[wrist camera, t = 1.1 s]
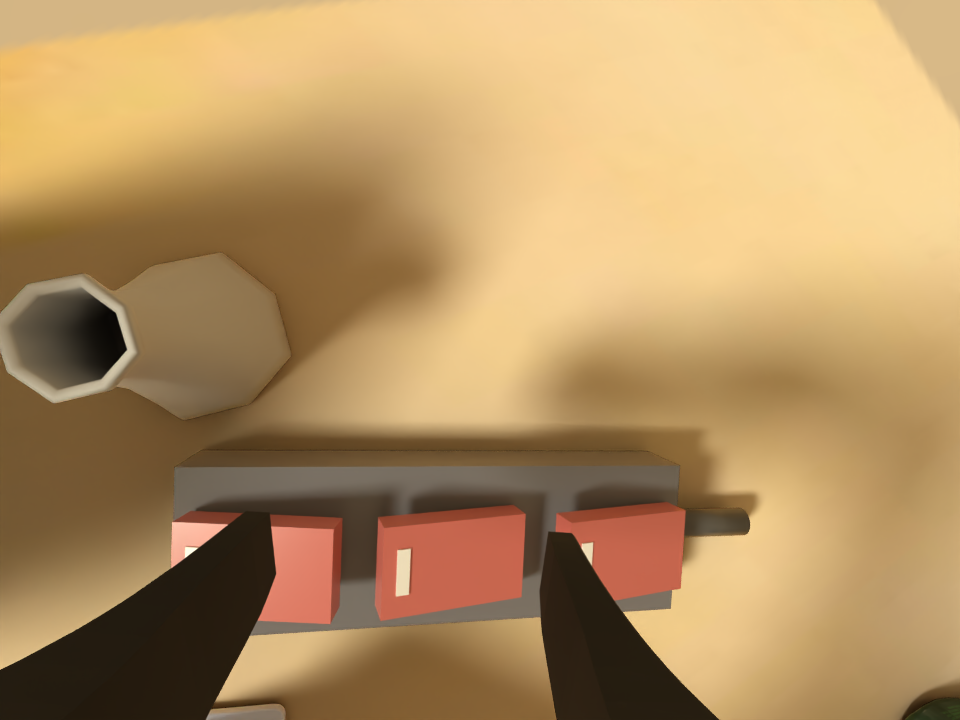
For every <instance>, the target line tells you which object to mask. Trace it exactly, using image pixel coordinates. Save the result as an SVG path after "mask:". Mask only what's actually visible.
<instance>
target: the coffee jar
mask: <svg viewBox="0 0 960 720" xmlns="http://www.w3.org/2000/svg"><path fill="white" fill-rule="evenodd" d="M905 720H960V698H944V699H936V700H933V701H932V702H930V703H928V704H926V705H924V706H922V707H921V708H919V709H918V710H916V711H915V712H914V713H912V714H910V715H909V716H908V717H907V718H906V719H905Z"/></svg>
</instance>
